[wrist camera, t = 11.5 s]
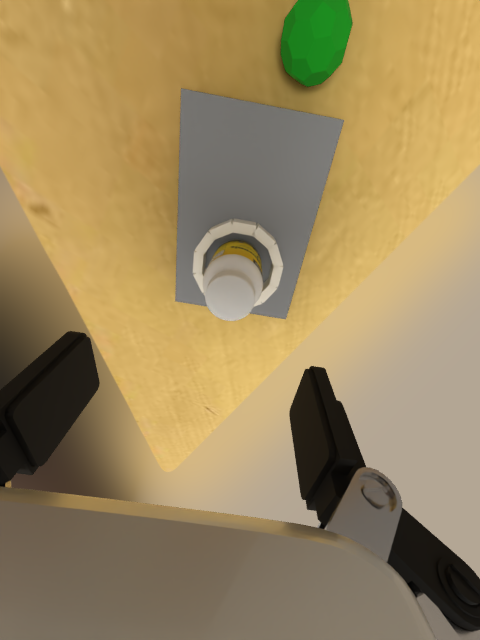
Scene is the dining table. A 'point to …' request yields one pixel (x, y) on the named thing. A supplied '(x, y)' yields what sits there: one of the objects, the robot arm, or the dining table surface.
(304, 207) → the pin board
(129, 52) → the dining table surface
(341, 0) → the polyhedron
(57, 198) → the dining table surface
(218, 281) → the supplement bottle
